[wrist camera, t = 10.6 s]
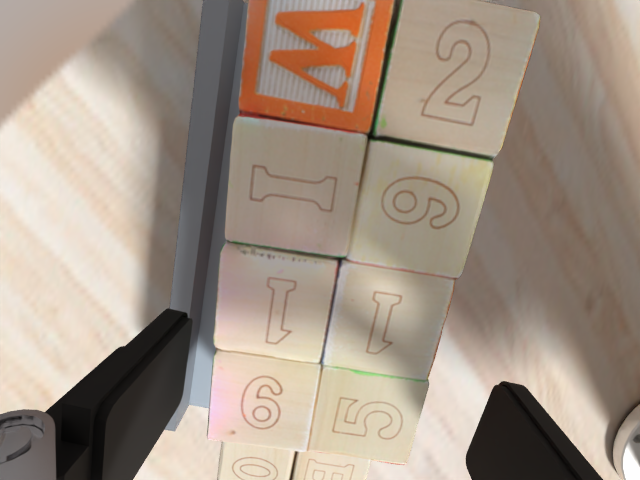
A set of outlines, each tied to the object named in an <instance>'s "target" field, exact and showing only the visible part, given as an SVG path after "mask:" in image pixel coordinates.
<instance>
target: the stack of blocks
mask: <svg viewBox="0 0 640 480" xmlns="http://www.w3.org/2000/svg"><path fill="white" fill-rule="evenodd" d="M539 24H540V15H538V14H537V13H536V12H533V11H528V10H523V9H518V8H513V7H508V6H503V5H499V4H494V3H489V2H485V1H480V0H248V9H247V20H246V31H245V42H244V51H243V59H242V71H241V81H240V90H239V111H240V114H239V115H238V116H237V117H236V118H235V120H234V123H233V130H232V143H231V154H230V169H229V181H228V193H227V206H226V221H225V238H226V240H227V241H226V242H225V243H224V244H223V245H222V248H221V251H220V259H219V268H218V286H217V297H216V311H215V324H214V336H213V340H214V345H215V348H216V350H215V354H214V357H213V365H212V378H211V391H210V403H209V416H208V430H207V438H208V439H209V440H216V441H222V444H221V451H220V458H219V467H218V476H217V480H366V478H367V474H368V470H369V467H370V463H371V460H374V461H380V462H386V463H391V464H398V465H405V464H406V463H407V460H408V457H409V454H410V451H411V447H412V443H413V440H414V436H415V433H416V429H417V424H418V421H419V418H420V415H421V412H422V408H423V405H424V401H425V398H426V394H427V391H428V387H429V381H428V377H429V374H430V371H431V368H432V365H433V362H434V359H435V356H436V352H437V349H438V345H439V341H440V338H441V334H442V329H443V325H444V322H445V320H446V317H447V313H448V310H449V306H450V303H451V299H452V295H453V291H454V284H455V280H456V279H458V278H459V277H460V276H461V274H462V271H463V268H464V265H465V262H466V259H467V255H468V252H469V249H470V246H471V242H472V239H473V236H474V232H475V229H476V226H477V222H478V219H479V215H480V212H481V209H482V205H483V202H484V198H485V195H486V192H487V188H488V185H489V181H490V178H491V175H492V171H493V165H494V164H493V161H492V159H493V158H494V157H496V155H497V154H498V153H499V151H500V150H501V149H502V146H503V142H504V139H505V136H506V133H507V129H508V126H509V123H510V120H511V117H512V114H513V110H514V107H515V104H516V101H517V98H518V94H519V91H520V88H521V85H522V82H523V78H524V75H525V72H526V69H527V66H528V62H529V59H530V56H531V53H532V49H533V46H534V43H535V40H536V36H537V33H538V30H539Z"/></svg>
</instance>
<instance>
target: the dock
mask: <svg viewBox="0 0 640 480" xmlns="http://www.w3.org/2000/svg"><path fill="white" fill-rule="evenodd" d="M247 9H248V3H244V2H243V0H203V6H202V16H201V25H200V34H199V43H198V52H197V62H196V71H195V80H194V89H193V98H192V107H191V117H190V126H189V135H188V144H187V153H186V163H185V172H184V181H183V190H182V199H181V209H180V218H179V227H178V236H177V245H176V255H175V264H174V273H173V282H172V291H171V301H170V309H173V310H177V311H182V312H186V313H187V314H188V318H191V319H192V320H193V324H192V331H191V339H190V346H189V354H188V361H187V369H186V376H185V384H184V391H183V396H182V400H181V402H180V405H179V406H178V408H177V410H176V411H175V413H174V415H173V416H172V418H171V419H170V421H169V423H168V424H167V426H166V427H165V429H164V430H170V431H175V430H176V428H177V426H178V425H179V423H180V421H181V419H182V417H183V415H184V413H185V411H186V409H187V408H188V406H189V405H194V406H199V407H205V408H209V403H210V391H211V378H212V365H213V357H214V354H215V350H216V348H215V345H214V340H213V336H214V324H215V311H216V297H217V286H218V268H219V259H220V251H221V248H222V245H223V244H224V243H225V242H226V241H227V240H226V238H225V221H226V206H227V193H228V181H229V169H230V154H231V143H232V130H233V123H234V120H235V118H236V117H237V116H238V115H239V114H240V111H239V90H240V81H241V71H242V59H243V51H244V42H245V31H246V20H247Z"/></svg>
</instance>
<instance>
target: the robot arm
mask: <svg viewBox="0 0 640 480" xmlns="http://www.w3.org/2000/svg"><path fill="white" fill-rule="evenodd" d="M192 324H193V320H192V319H191V318H188V314H187V313H186V312H182V311H177V310H173V309H166V310H165V311H164V312H163V313H161V314H160V315H159V316H158V317H157V318H156V319H155V320H154V321H153V322H151V323H150V324H149V325H148V326H147V327H146V328H145V329H144V330H143V331H141V332H140V333H139V334H138V335H137V336H136V337H135V338H134V339H133V340H132V341H130V342H129V343H128V344H127V345H126V346H123V347H119V348H118V349H116V350H115V351H114V352H113V353H112V354H110V355H109V356H108V357H107V358H106V359H105V360H104V361H102V362H101V363H100V364H99V365H98V366H97V367H96V368H95V369H93V370H92V371H91V372H90V373H89V374H88V375H87V376H85V377H84V378H83V379H82V380H81V381H80V382H79V383H78V384H76V385H75V386H74V387H73V388H72V389H71V390H70V391H68V392H67V393H66V394H65V395H64V396H63V397H62V398H60V399H59V400H58V401H57V402H56V403H55V404H54V405H53V406H51V407H50V408H49V409H48V410H47V411H46V412H42V411H39V410H25V409H24V410H17V411H10V412H7V413H3V414H0V480H133V479H134V477H135V475H136V474H137V472H138V471H139V469H140V467H141V466H142V464H143V463H144V461H145V459H146V458H147V456H148V455H149V453H150V451H151V450H152V448H153V447H154V445H155V443H156V442H157V440H158V439H159V437H160V435H161V434H162V432H163V431H164V429H165V427H166V426H167V424H168V423H169V421H170V419H171V418H172V416H173V415H174V413H175V411H176V410H177V408H178V406H179V405H180V402H181V400H182V396H183V391H184V384H185V376H186V369H187V361H188V354H189V346H190V339H191V331H192ZM613 460H614V466H615V468H616V470H617V473H618V475H619V476H620V477H621V479H622V480H640V404H639V405H638V406H637V407H635V408H634V410H633V411H632V412H631V413H630V414H629V415H628V416H627V418H626V419H625V420H624V422H623V424H622V425H621V427H620V429H619V430H618V433H617V436H616V438H615V441H614V448H613ZM466 466H467V469H468V472H469V474H470V476H471V479H472V480H603V479H602V478H601V477H600V476H599V474H598V473H597V472H596V471H595V470H594V468H593V467H592V466H591V465H590V464H589V462H588V461H587V460H586V459H585V458H584V456H583V455H582V454H581V453H580V452H579V450H578V449H577V448H576V447H575V446H574V444H573V443H572V442H571V441H570V440H569V438H568V437H567V436H566V435H565V434H564V432H563V431H562V430H561V429H560V428H559V426H558V425H557V424H556V423H555V422H554V420H553V419H552V418H551V417H550V416H549V414H548V413H547V412H546V411H545V410H544V408H543V407H542V406H541V405H540V404H539V402H538V401H537V400H536V399H535V398H534V396H533V395H532V394H531V393H530V392H529V390H528V389H527V388H526V387H525V386H523V385H519V384H515V383H510V382H505V381H503V382H501V383H500V384H499V385H495V386H494V387H493V389H492V392H491V394H490V397H489V399H488V402H487V404H486V407H485V409H484V412H483V414H482V417H481V419H480V422H479V424H478V427H477V429H476V432H475V434H474V437H473V439H472V442H471V444H470V446H469V449H468V451H467V454H466Z"/></svg>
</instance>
